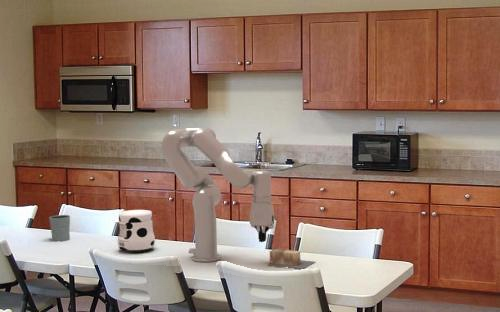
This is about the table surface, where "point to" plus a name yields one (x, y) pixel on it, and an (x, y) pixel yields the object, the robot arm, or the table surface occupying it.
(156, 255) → the table surface
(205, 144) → the robot arm
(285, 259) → the maple block
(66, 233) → the grey cup
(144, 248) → the milk container
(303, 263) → the charcoal mat
